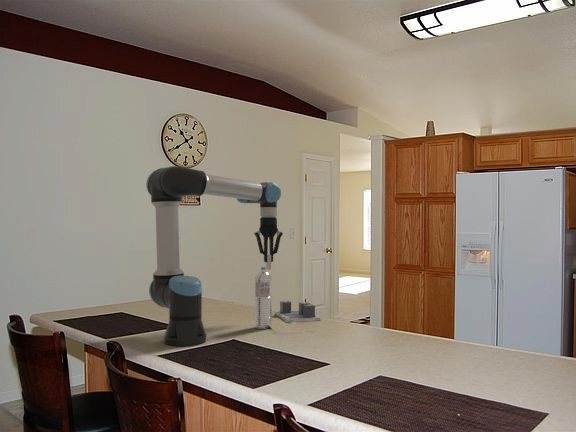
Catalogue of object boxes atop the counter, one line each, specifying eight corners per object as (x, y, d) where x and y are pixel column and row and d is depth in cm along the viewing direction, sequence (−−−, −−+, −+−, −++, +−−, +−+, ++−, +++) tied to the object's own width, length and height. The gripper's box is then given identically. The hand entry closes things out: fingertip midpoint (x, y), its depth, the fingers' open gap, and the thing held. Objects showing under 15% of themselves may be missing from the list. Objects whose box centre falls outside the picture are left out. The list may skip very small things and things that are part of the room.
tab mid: (310, 317, 220) (310, 303, 220) (301, 317, 219) (301, 303, 219) (307, 315, 224) (307, 301, 224) (298, 316, 222) (298, 302, 223)
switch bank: (320, 323, 213) (320, 317, 213) (287, 325, 209) (287, 319, 209) (305, 315, 231) (305, 309, 231) (275, 317, 227) (275, 311, 227)
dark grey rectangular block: (315, 319, 214) (315, 305, 214) (306, 320, 213) (306, 306, 213) (311, 318, 218) (311, 304, 218) (303, 318, 217) (303, 304, 217)
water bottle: (272, 326, 208) (272, 266, 209) (270, 329, 202) (270, 268, 202) (256, 325, 209) (256, 266, 209) (253, 329, 202) (253, 268, 202)
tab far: (291, 315, 224) (291, 301, 224) (282, 316, 222) (282, 302, 222) (288, 314, 227) (288, 300, 227) (280, 314, 226) (280, 301, 226)
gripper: (280, 217, 228) (280, 268, 228) (252, 216, 225) (252, 269, 224) (285, 216, 221) (285, 269, 221) (256, 216, 217) (256, 270, 217)
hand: (268, 269), depth 223 cm, fingers closed
